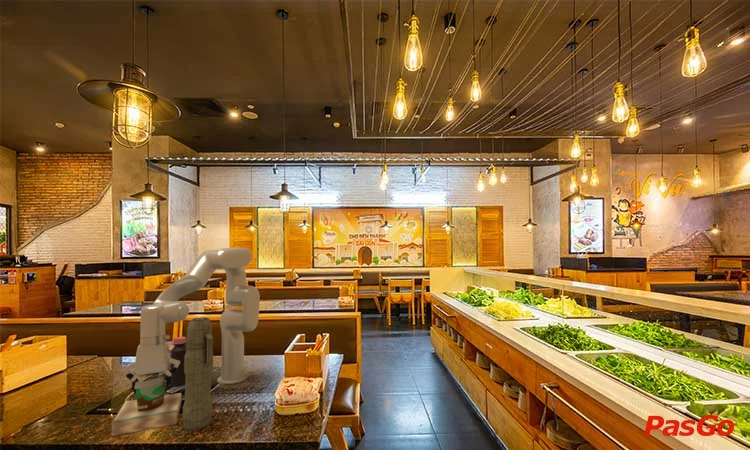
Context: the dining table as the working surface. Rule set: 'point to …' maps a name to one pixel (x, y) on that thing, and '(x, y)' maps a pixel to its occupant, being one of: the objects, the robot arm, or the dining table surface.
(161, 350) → the robot arm
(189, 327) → the thermos
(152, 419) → the dock
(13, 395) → the dining table surface
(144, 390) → the food container
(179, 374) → the bottle
